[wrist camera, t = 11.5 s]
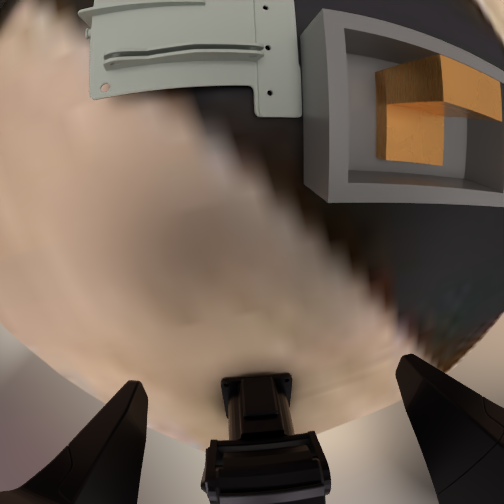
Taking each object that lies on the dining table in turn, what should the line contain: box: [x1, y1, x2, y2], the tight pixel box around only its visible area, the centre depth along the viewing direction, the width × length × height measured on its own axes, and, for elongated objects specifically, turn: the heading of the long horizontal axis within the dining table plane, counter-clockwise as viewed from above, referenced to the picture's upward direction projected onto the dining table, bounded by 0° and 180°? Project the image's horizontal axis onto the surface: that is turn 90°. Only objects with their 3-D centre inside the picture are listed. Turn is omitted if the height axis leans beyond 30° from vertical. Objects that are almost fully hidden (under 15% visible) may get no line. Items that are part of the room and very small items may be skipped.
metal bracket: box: [78, 0, 302, 118], centre depth 13 cm, size 14×6×15 cm
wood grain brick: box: [375, 54, 502, 166], centre depth 13 cm, size 6×5×7 cm
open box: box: [300, 9, 504, 207], centre depth 14 cm, size 10×15×5 cm, turn 92°
